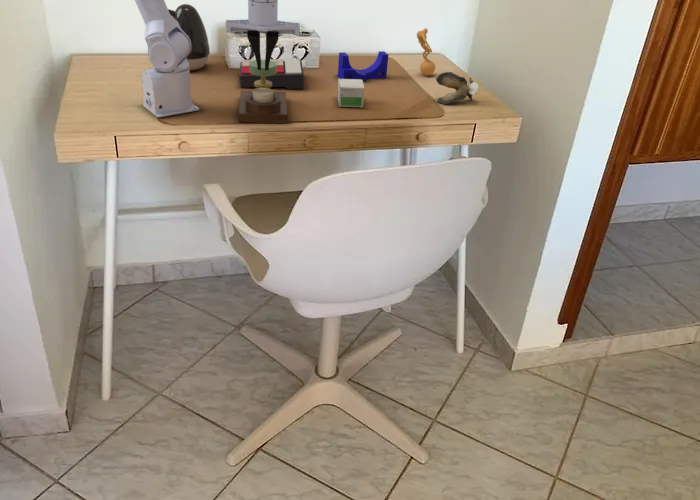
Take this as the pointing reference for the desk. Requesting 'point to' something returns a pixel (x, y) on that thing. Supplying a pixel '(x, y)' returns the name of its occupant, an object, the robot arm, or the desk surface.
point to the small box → (350, 93)
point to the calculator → (285, 77)
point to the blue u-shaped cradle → (372, 72)
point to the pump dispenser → (193, 34)
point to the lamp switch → (263, 95)
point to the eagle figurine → (456, 87)
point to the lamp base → (262, 109)
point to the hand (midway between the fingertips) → (263, 68)
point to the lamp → (263, 73)
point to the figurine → (427, 65)
